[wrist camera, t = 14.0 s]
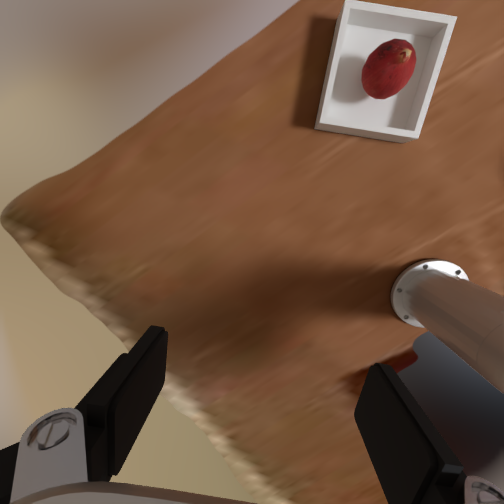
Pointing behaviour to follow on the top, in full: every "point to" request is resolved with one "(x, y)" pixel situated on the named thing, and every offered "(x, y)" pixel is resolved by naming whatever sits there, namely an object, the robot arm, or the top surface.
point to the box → (354, 57)
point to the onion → (388, 68)
